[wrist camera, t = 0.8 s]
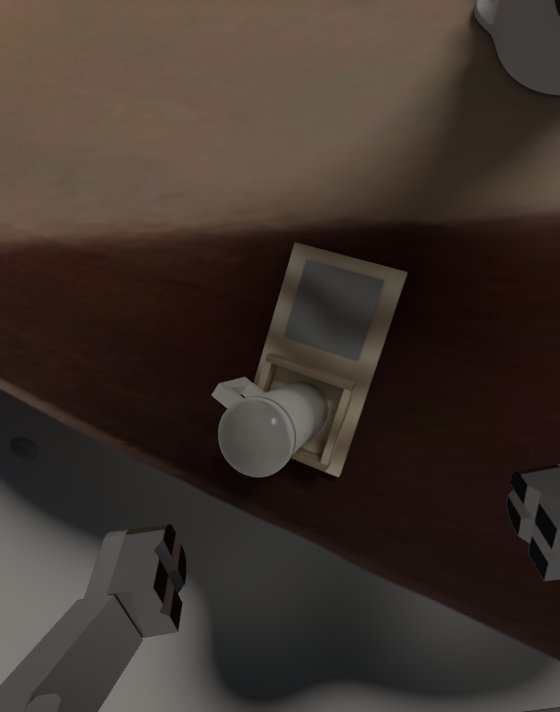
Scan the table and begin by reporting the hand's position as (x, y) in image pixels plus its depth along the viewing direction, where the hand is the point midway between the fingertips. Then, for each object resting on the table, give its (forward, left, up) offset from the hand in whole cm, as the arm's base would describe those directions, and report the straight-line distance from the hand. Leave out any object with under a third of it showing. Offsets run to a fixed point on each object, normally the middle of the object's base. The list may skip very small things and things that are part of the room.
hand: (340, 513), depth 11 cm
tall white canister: (+7, -11, -40) cm, 42 cm away
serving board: (+2, -10, -41) cm, 42 cm away
